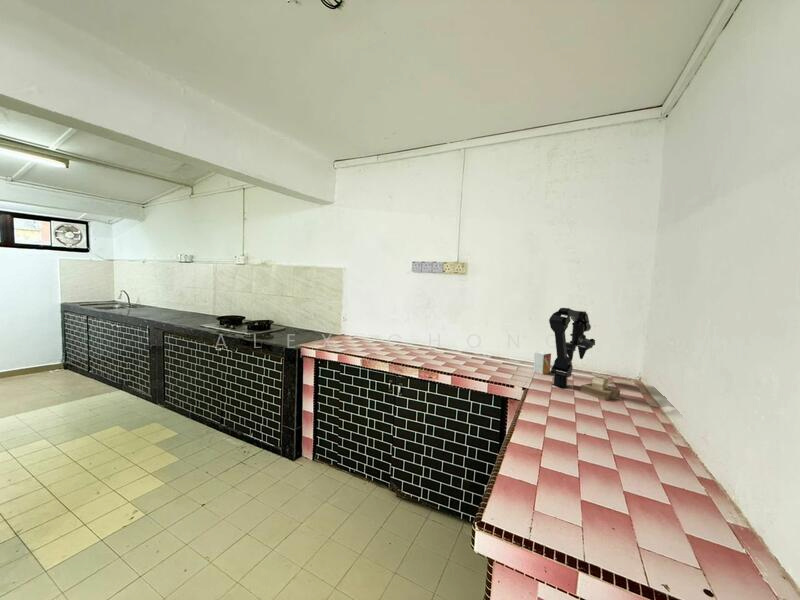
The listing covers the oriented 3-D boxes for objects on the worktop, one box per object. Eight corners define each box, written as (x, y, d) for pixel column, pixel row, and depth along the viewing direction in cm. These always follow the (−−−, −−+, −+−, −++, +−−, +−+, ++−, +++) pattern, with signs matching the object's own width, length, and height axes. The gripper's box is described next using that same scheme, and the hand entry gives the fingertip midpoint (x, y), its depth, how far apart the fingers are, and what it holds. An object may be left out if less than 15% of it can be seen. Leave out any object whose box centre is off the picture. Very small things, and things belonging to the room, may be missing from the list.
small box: (542, 376, 181) (543, 354, 181) (532, 373, 187) (534, 352, 186) (550, 374, 186) (551, 353, 185) (540, 371, 191) (541, 351, 190)
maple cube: (602, 389, 150) (603, 379, 149) (591, 386, 154) (592, 376, 154) (608, 388, 152) (608, 378, 152) (597, 385, 156) (598, 375, 156)
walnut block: (604, 401, 145) (605, 393, 145) (580, 392, 156) (580, 385, 156) (619, 398, 150) (620, 390, 150) (595, 389, 161) (595, 382, 161)
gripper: (581, 335, 163) (579, 364, 163) (602, 334, 171) (600, 361, 172) (562, 332, 173) (560, 359, 173) (583, 331, 181) (581, 357, 182)
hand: (576, 359), depth 175 cm, fingers open, 9 cm apart
